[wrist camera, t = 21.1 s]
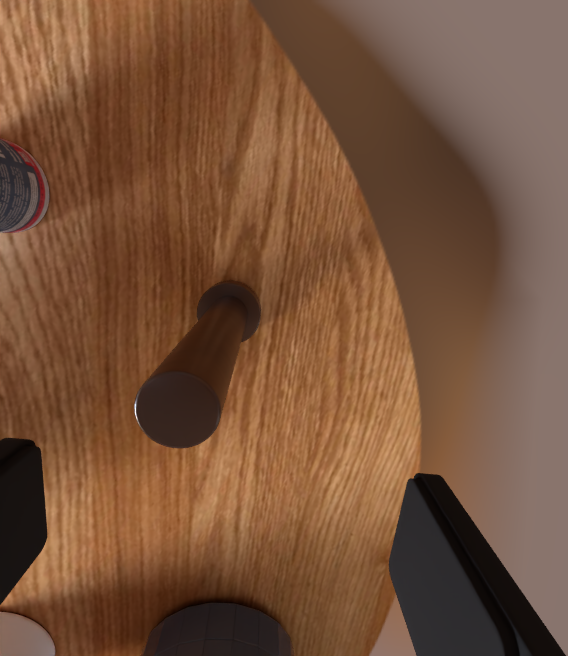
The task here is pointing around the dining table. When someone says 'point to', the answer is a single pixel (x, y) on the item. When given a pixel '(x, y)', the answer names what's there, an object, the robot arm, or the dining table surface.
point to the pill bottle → (20, 189)
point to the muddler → (198, 369)
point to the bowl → (218, 633)
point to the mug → (23, 637)
